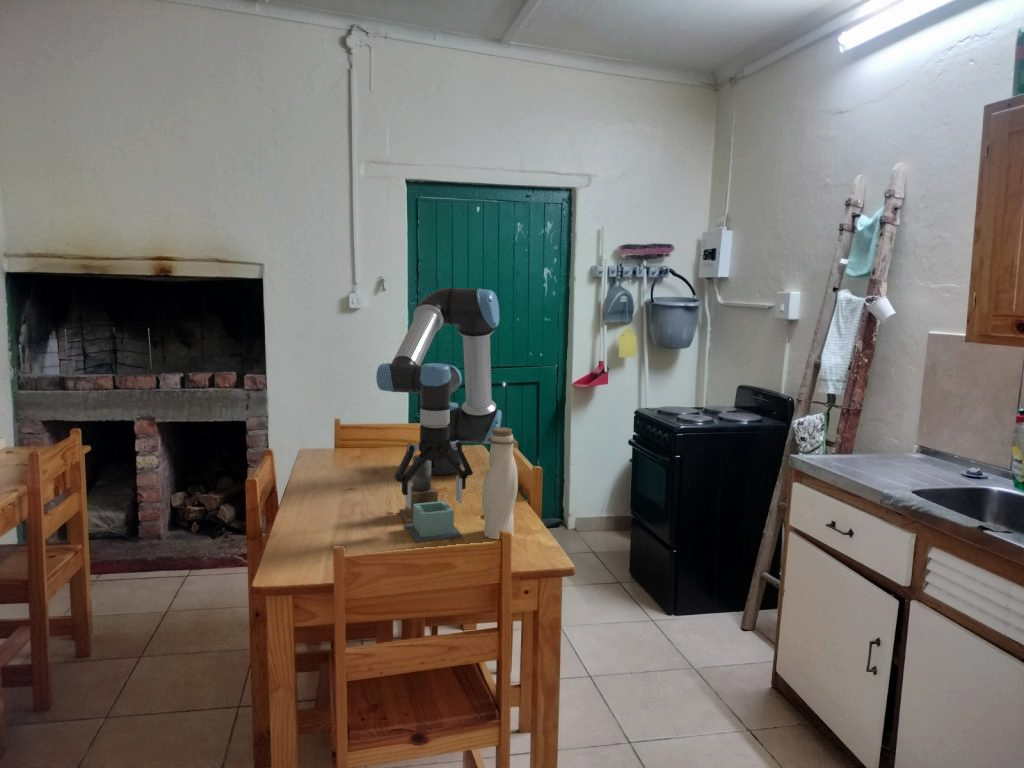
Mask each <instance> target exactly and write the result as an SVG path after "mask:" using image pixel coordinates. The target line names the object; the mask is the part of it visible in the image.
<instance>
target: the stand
mask: <svg viewBox="0 0 1024 768" xmlns="http://www.w3.org/2000/svg"><path fill="white" fill-rule="evenodd" d="M418 456H419V454H416V455H413V457H412V464H413V463H414V462H415V461H416V459H417V457H418ZM438 494H439V491H438V490H437V489H436V488H435V487H434V486H433V484H432V475H431V461H429V460H427V461H426V462H425V463H423V464H422V466H421V467H420V468H419V469H418V471H417V472H416V473H415V474H414V475H413V477H412V485H411V508H407V506H406V505H405V508H399V511H398V512H399V514H400V516H401V517H402V518H403V520H404V522H406V523H405V524H411V523H413V504H417V503H428V502H439V495H438Z"/></svg>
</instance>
